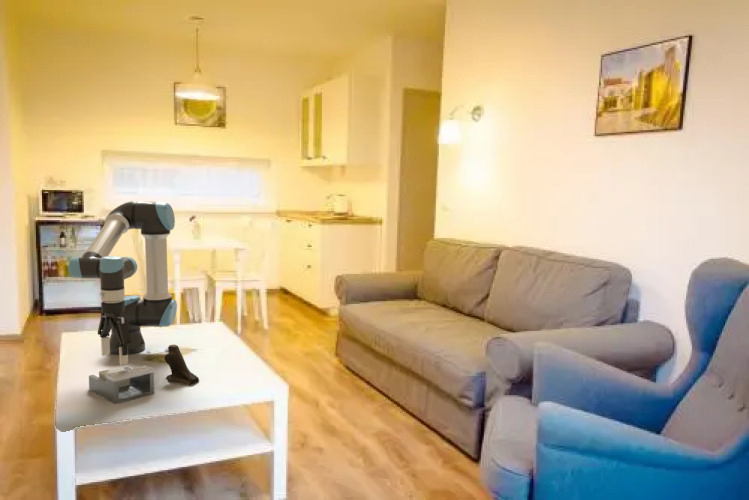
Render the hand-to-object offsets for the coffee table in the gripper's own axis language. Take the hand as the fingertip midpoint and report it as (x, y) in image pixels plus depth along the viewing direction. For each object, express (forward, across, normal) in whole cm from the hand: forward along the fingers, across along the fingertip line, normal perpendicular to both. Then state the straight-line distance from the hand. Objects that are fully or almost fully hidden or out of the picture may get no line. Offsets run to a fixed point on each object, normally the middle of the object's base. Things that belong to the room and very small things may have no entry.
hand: (114, 359), depth 205 cm
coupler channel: (+10, +6, 0) cm, 12 cm away
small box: (+9, 0, -1) cm, 9 cm away
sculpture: (+11, +10, +20) cm, 25 cm away
